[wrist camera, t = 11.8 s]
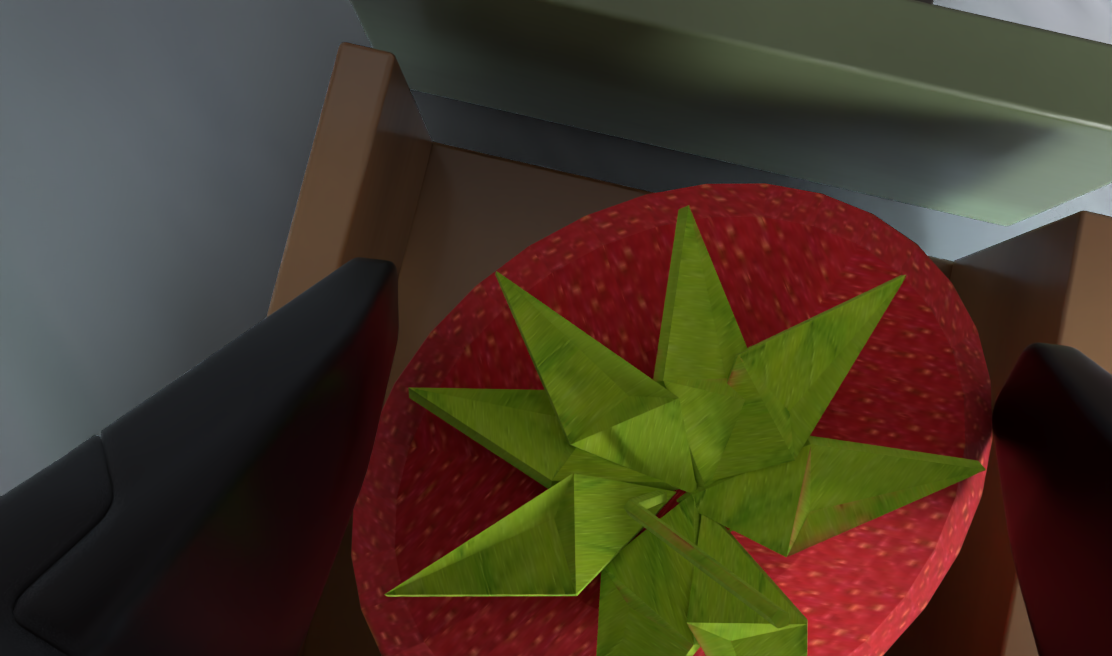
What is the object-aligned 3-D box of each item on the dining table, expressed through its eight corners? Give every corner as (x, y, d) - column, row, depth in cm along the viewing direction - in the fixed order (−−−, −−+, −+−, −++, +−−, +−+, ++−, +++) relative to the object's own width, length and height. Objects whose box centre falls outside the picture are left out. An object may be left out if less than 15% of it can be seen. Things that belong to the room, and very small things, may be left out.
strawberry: (906, 476, 16) (1498, 559, 6) (537, 725, 15) (496, 1270, 5) (713, 193, 16) (953, -172, 6) (351, 426, 16) (4, 425, 6)
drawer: (458, -180, 18) (420, -413, 13) (1059, -45, 18) (1262, -229, 13) (190, 842, 16) (26, 1036, 11) (860, 1008, 16) (1004, 1284, 11)
